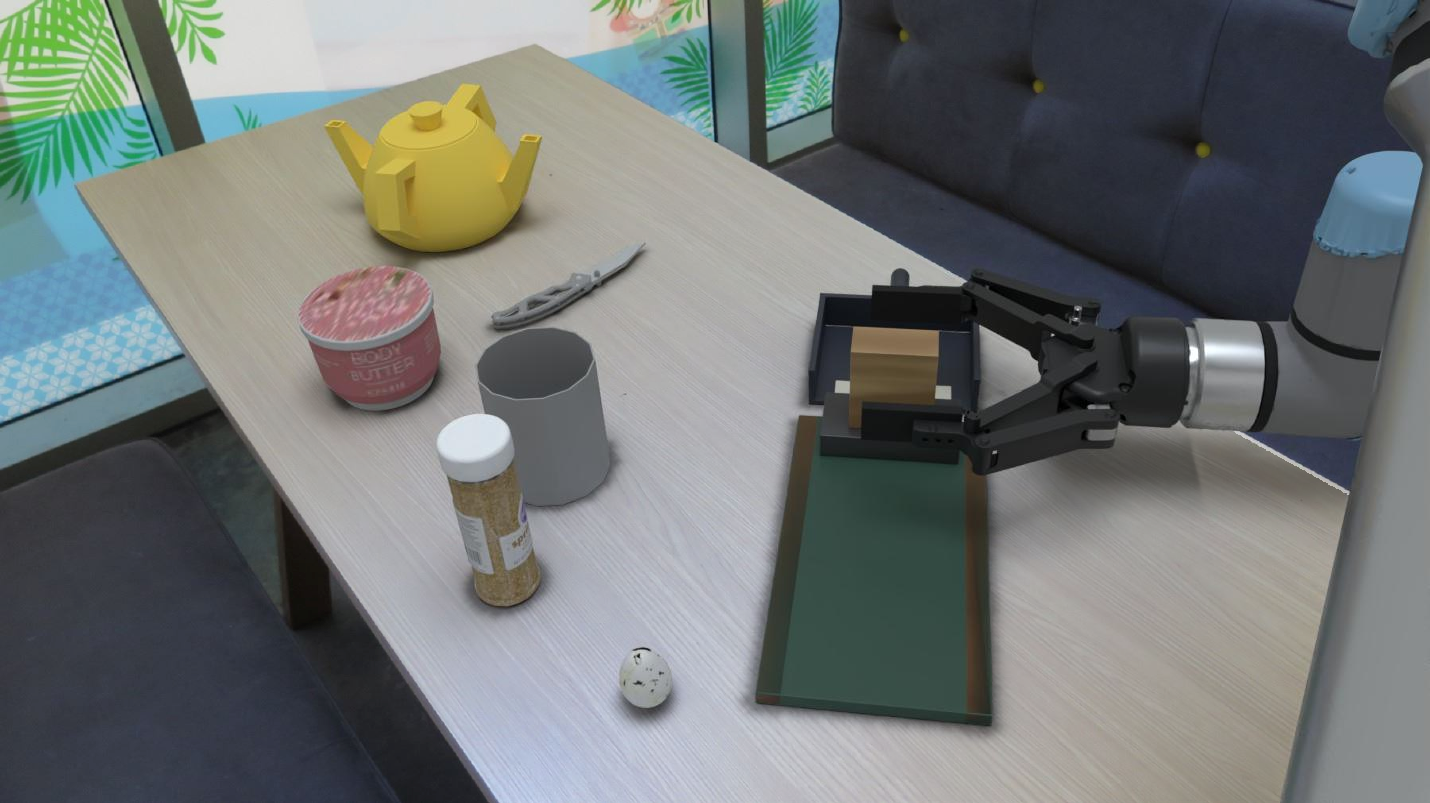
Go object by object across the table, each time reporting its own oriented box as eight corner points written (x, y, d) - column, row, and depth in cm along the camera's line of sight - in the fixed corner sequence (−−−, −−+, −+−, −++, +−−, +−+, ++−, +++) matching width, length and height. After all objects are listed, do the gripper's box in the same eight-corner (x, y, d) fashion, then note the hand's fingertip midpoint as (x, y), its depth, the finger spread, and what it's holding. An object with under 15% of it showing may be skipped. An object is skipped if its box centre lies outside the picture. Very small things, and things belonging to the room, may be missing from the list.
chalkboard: (991, 726, 70) (992, 716, 70) (755, 703, 73) (755, 693, 72) (984, 435, 90) (985, 425, 89) (798, 424, 92) (798, 414, 92)
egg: (684, 689, 74) (678, 637, 70) (657, 728, 72) (649, 676, 68) (640, 670, 75) (632, 618, 72) (612, 708, 73) (603, 656, 70)
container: (471, 350, 102) (453, 272, 97) (417, 430, 94) (394, 349, 89) (361, 336, 104) (338, 259, 99) (299, 413, 96) (270, 333, 91)
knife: (635, 244, 113) (657, 255, 112) (489, 328, 104) (510, 341, 102) (634, 230, 112) (656, 241, 111) (485, 313, 103) (507, 326, 101)
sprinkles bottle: (548, 597, 80) (517, 447, 71) (481, 617, 79) (441, 468, 70) (533, 550, 83) (501, 402, 75) (468, 569, 82) (429, 421, 74)
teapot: (498, 160, 128) (478, 54, 120) (562, 228, 116) (544, 115, 109) (345, 207, 122) (313, 98, 114) (396, 283, 110) (365, 168, 103)
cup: (521, 425, 94) (499, 322, 87) (622, 435, 92) (607, 331, 86) (483, 500, 88) (457, 394, 81) (591, 512, 86) (573, 406, 80)
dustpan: (976, 414, 92) (980, 379, 90) (808, 404, 94) (808, 370, 92) (974, 293, 104) (978, 260, 102) (825, 287, 106) (826, 254, 104)
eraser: (958, 464, 86) (968, 366, 81) (819, 455, 88) (820, 358, 82) (958, 419, 90) (968, 323, 84) (825, 411, 92) (826, 316, 86)
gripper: (1198, 545, 74) (854, 521, 77) (1147, 312, 93) (873, 300, 96) (1224, 455, 69) (857, 434, 73) (1166, 229, 88) (876, 219, 91)
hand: (866, 357), depth 84 cm, fingers open, 13 cm apart
